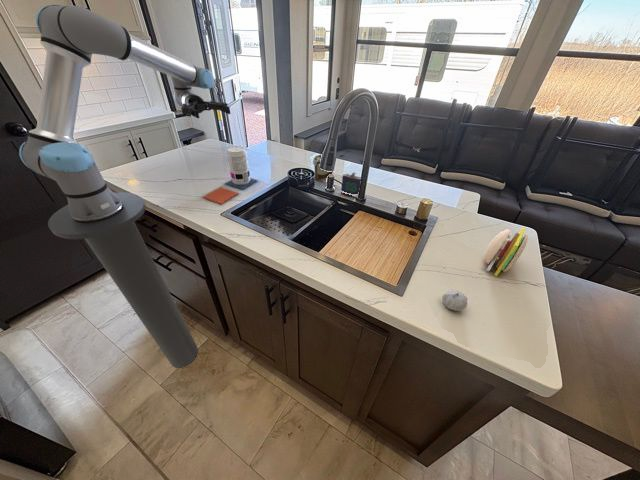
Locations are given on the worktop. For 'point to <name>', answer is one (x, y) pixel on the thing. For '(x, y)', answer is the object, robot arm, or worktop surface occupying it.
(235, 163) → the supplement can
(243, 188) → the slate pad
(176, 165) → the worktop surface
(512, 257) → the hamburger
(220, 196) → the terracotta pad
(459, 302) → the garlic
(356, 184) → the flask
